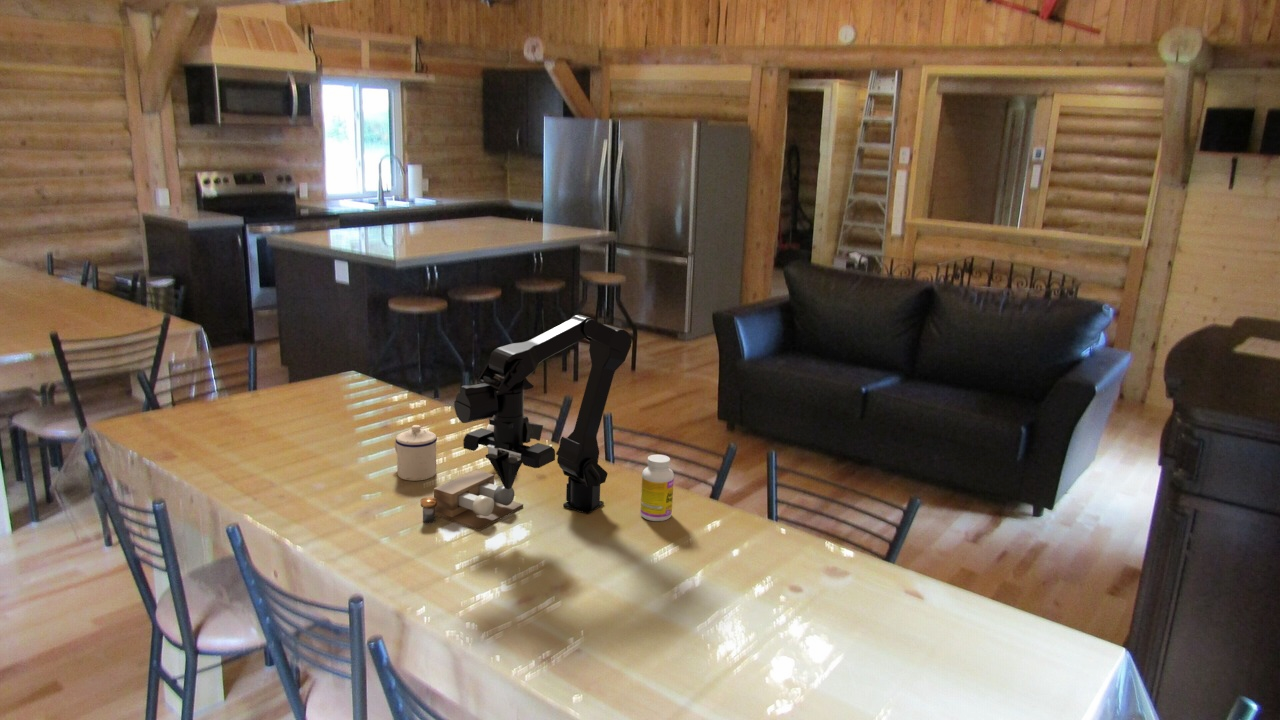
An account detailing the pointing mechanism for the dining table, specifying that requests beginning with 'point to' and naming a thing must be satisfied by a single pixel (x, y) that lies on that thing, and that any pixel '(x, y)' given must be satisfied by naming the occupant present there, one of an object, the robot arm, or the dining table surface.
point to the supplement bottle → (657, 489)
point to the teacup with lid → (416, 454)
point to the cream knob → (476, 503)
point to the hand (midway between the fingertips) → (508, 488)
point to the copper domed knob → (428, 509)
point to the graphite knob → (497, 493)
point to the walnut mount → (465, 516)
